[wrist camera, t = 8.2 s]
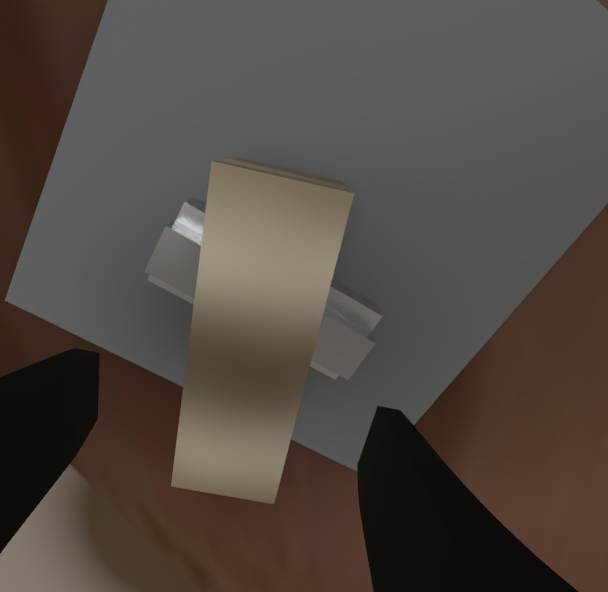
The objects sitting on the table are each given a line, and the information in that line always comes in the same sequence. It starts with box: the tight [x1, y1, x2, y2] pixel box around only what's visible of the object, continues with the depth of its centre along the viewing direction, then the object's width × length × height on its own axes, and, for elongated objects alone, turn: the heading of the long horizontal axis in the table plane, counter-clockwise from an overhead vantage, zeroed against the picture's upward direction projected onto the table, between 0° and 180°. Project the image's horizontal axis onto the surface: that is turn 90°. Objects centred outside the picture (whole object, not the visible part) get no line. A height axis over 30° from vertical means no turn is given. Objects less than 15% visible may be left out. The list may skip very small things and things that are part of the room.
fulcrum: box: [144, 197, 383, 380], centre depth 18 cm, size 10×4×3 cm, turn 59°
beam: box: [171, 158, 354, 504], centre depth 15 cm, size 12×4×4 cm, turn 168°
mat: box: [5, 0, 608, 471], centre depth 18 cm, size 22×24×1 cm
